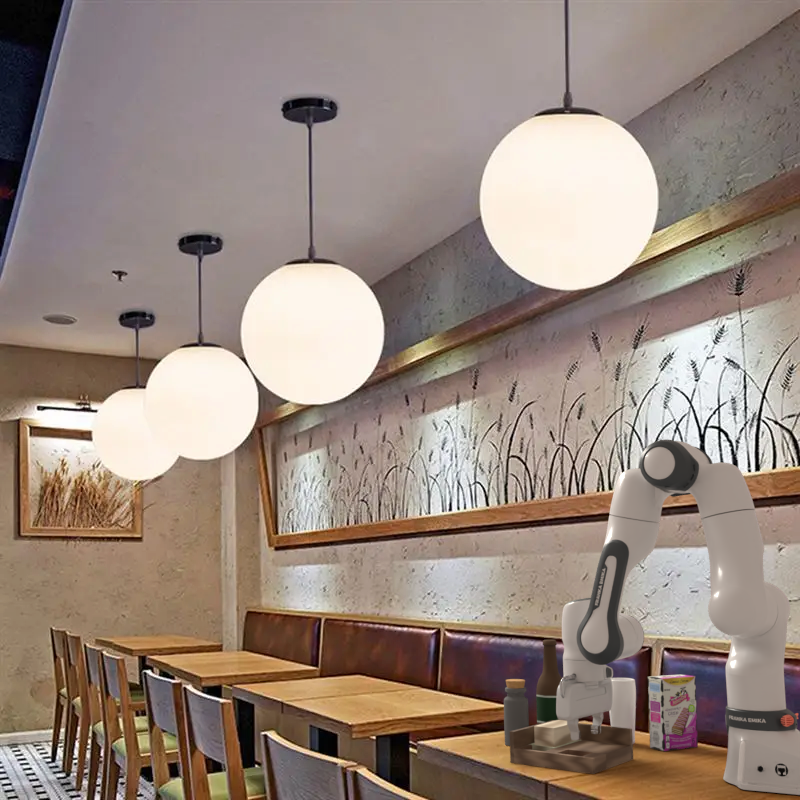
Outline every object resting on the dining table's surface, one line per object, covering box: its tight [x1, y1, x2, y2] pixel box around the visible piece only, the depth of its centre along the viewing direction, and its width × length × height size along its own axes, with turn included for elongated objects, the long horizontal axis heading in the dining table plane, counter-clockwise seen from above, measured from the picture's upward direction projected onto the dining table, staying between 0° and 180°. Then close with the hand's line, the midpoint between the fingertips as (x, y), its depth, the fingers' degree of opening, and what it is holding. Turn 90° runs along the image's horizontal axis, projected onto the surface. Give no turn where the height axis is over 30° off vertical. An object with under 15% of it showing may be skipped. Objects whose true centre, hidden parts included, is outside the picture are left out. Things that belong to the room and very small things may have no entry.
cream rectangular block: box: [534, 720, 578, 747], centre depth 222 cm, size 5×11×4 cm, turn 142°
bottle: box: [503, 678, 530, 747], centre depth 237 cm, size 6×6×15 cm
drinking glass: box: [608, 677, 637, 745], centre depth 237 cm, size 7×7×15 cm
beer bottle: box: [535, 639, 567, 724], centre depth 243 cm, size 8×8×24 cm
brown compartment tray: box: [509, 720, 634, 775], centre depth 217 cm, size 20×19×6 cm
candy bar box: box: [647, 674, 699, 752], centre depth 231 cm, size 11×5×16 cm, turn 120°
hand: (586, 736), depth 217 cm, fingers open, 8 cm apart
